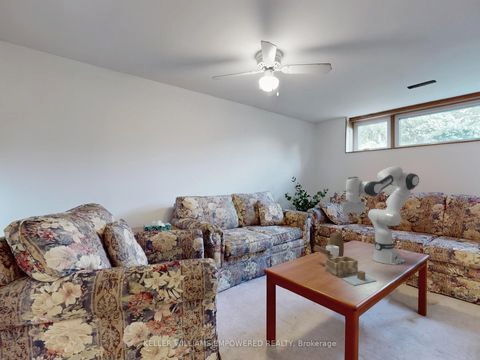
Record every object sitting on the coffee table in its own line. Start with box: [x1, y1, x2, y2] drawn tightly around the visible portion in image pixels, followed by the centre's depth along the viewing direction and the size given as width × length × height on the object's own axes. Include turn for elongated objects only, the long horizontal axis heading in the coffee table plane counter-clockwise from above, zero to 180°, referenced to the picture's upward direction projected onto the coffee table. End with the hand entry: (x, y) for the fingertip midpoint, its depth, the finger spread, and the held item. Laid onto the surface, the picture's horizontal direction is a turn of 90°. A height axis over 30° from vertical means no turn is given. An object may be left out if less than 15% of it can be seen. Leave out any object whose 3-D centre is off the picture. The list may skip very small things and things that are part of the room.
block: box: [328, 231, 345, 257], centre depth 186 cm, size 11×8×20 cm
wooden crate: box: [324, 254, 359, 278], centre depth 159 cm, size 18×13×10 cm
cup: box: [325, 244, 339, 258], centre depth 176 cm, size 9×9×12 cm
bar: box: [313, 244, 330, 256], centre depth 171 cm, size 2×15×3 cm, turn 18°
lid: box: [341, 269, 377, 287], centre depth 146 cm, size 18×10×6 cm, turn 111°
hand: (352, 218), depth 168 cm, fingers open, 8 cm apart
